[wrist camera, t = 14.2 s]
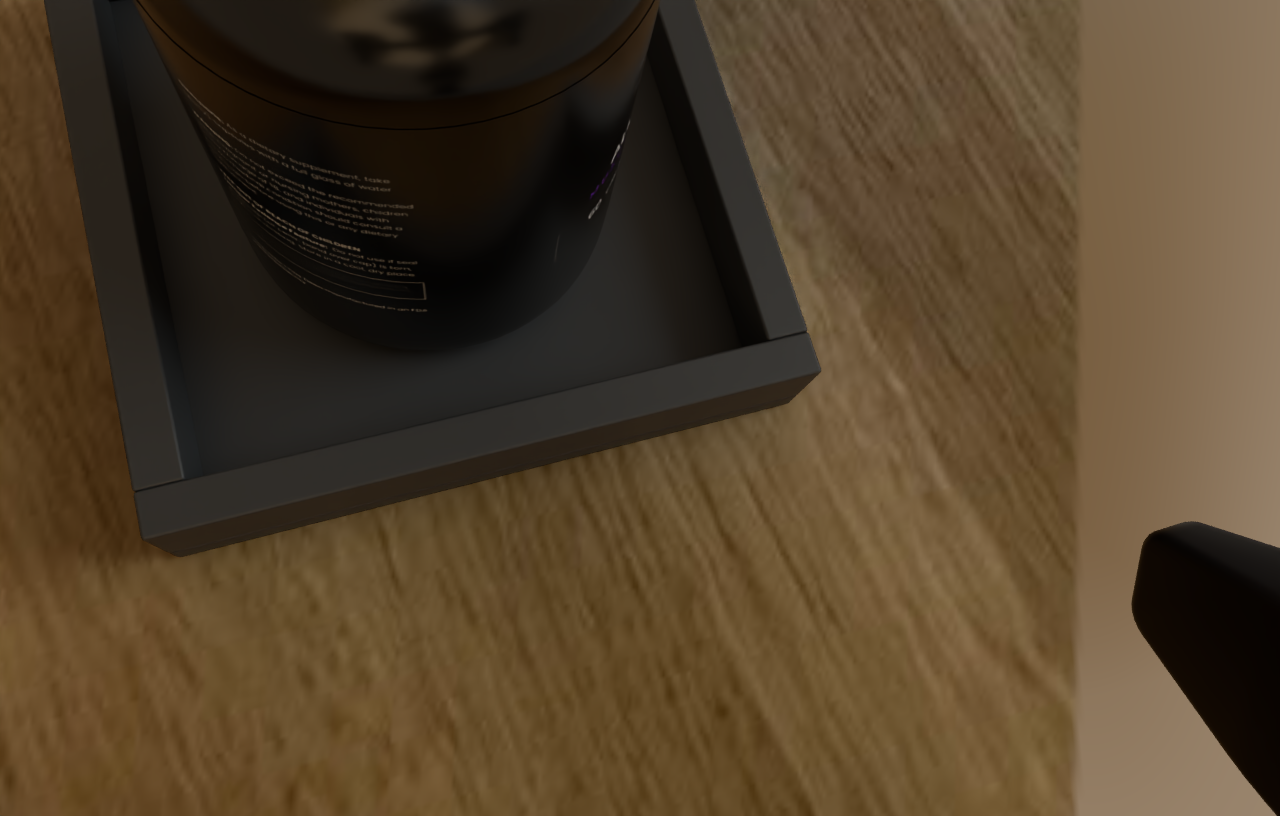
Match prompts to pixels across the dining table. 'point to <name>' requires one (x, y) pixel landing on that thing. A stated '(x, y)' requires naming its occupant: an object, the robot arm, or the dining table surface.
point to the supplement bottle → (412, 148)
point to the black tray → (394, 378)
